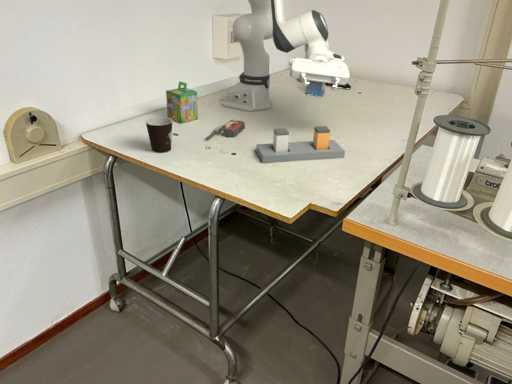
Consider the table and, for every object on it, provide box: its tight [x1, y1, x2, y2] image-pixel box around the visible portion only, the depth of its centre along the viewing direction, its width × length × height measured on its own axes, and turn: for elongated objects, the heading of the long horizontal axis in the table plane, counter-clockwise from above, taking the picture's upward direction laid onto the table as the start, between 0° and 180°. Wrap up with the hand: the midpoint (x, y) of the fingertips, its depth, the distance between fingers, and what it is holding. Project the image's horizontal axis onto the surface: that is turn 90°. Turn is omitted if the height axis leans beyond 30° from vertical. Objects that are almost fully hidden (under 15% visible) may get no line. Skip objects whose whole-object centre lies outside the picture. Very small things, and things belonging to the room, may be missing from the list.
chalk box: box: [165, 81, 199, 124], centre depth 165 cm, size 9×9×15 cm
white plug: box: [272, 127, 290, 153], centre depth 136 cm, size 4×4×9 cm
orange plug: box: [312, 125, 331, 150], centre depth 139 cm, size 4×4×9 cm
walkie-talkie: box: [205, 119, 246, 141], centre depth 154 cm, size 9×4×20 cm
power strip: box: [255, 139, 346, 164], centre depth 139 cm, size 28×10×2 cm, turn 102°
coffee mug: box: [145, 116, 173, 154], centre depth 139 cm, size 12×9×10 cm
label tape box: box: [305, 80, 326, 97], centre depth 203 cm, size 9×4×12 cm, turn 58°
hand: (320, 86), depth 136 cm, fingers open, 8 cm apart
